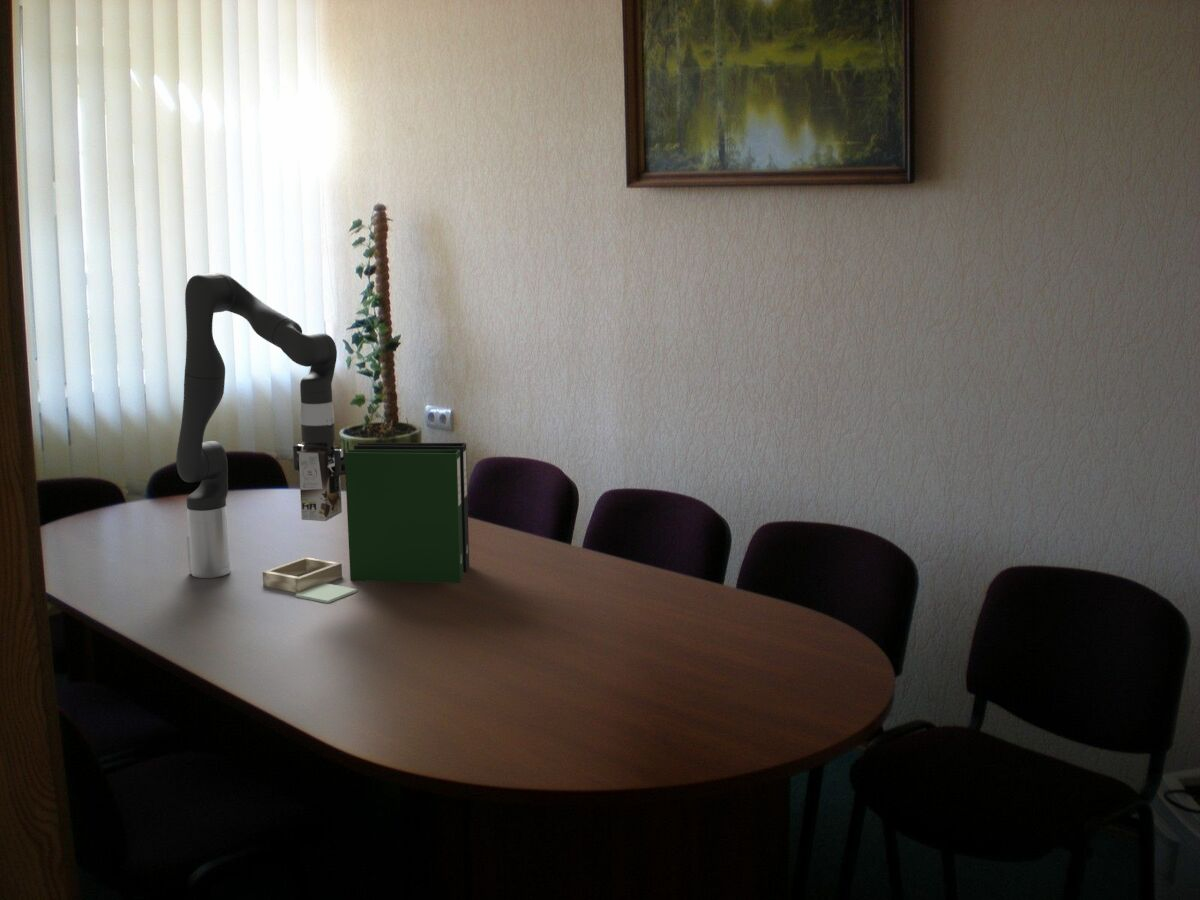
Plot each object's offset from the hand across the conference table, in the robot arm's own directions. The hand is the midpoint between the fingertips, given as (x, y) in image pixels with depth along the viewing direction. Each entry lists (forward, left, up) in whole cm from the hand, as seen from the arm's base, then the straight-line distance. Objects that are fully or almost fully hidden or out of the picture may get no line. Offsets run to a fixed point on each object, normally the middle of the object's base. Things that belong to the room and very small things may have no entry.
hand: (320, 490), depth 274 cm
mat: (0, 0, -25) cm, 25 cm away
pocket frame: (-12, +5, -25) cm, 28 cm away
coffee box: (0, 0, -6) cm, 6 cm away
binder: (+7, +23, -25) cm, 35 cm away
